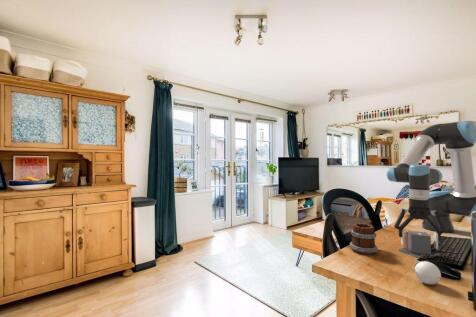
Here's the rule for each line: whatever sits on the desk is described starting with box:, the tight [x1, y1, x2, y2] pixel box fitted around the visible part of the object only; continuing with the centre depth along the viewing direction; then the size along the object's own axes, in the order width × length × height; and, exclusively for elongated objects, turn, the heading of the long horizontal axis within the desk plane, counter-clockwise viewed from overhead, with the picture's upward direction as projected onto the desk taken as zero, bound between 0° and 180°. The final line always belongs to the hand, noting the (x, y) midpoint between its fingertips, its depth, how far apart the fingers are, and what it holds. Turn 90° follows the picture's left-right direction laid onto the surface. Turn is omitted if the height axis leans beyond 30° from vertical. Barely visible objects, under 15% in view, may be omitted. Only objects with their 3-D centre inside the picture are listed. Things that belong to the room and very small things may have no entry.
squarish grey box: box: [407, 230, 432, 255], centre depth 113 cm, size 7×7×8 cm
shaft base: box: [398, 247, 440, 259], centre depth 113 cm, size 11×11×6 cm
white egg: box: [413, 260, 442, 286], centre depth 85 cm, size 10×7×7 cm
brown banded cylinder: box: [349, 219, 379, 256], centre depth 117 cm, size 12×14×15 cm
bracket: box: [401, 231, 408, 248], centre depth 124 cm, size 18×8×7 cm, turn 132°
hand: (419, 246), depth 113 cm, fingers open, 12 cm apart
